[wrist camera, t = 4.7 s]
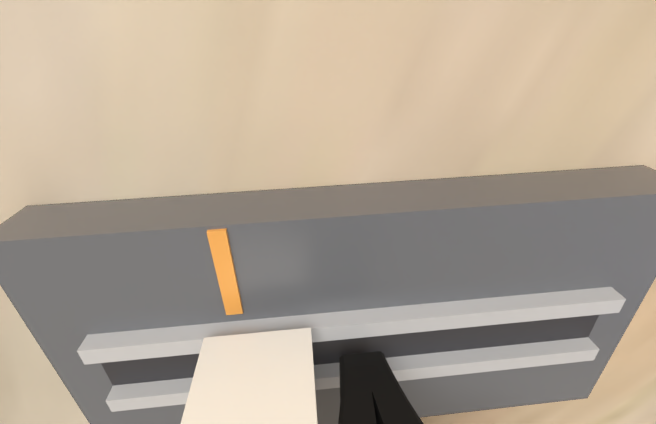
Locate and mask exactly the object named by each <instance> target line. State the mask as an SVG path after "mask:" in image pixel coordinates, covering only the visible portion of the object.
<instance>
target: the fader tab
mask: <svg viewBox="0 0 656 424" xmlns="http://www.w3.org/2000/svg"><path fill="white" fill-rule="evenodd" d="M181 424H318V417H317V403H316V389H315V376H314V362H313V348H312V335H311V328H301V329H291V330H280V331H269V332H259V333H248V334H238V335H227V336H216V337H206V338H204V339H203V343H202V346H201V350H200V354H199V357H198V361H197V365H196V368H195V372H194V376H193V379H192V383H191V387H190V391H189V394H188V398H187V402H186V405H185V409H184V413H183V416H182V420H181Z"/></svg>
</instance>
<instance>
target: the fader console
mask: <svg viewBox="0 0 656 424" xmlns="http://www.w3.org/2000/svg"><path fill="white" fill-rule="evenodd" d="M655 277H656V170H654V169H651V168H649V167H646V166H644V165H640V166H625V167H610V168H595V169H579V170H564V171H549V172H534V173H519V174H504V175H488V176H473V177H458V178H443V179H428V180H413V181H398V182H382V183H367V184H352V185H337V186H322V187H307V188H291V189H276V190H261V191H246V192H231V193H216V194H201V195H185V196H170V197H155V198H140V199H125V200H110V201H94V202H79V203H64V204H49V205H34V206H26V207H24V208H23V209H22V210H20V211H19V212H17V213H16V214H14V215H13V216H12V217H10V218H9V219H7V220H6V221H5V222H3V223H2V224H0V285H1V287H2V288H3V290H4V291H5V293H6V294H7V296H8V298H9V299H10V301H11V302H12V304H13V305H14V307H15V308H16V310H17V312H18V313H19V315H20V316H21V318H22V319H23V321H24V322H25V324H26V326H27V327H28V329H29V330H30V332H31V333H32V335H33V336H34V338H35V339H36V341H37V343H38V344H39V346H40V347H41V349H42V350H43V352H44V353H45V355H46V357H47V358H48V360H49V361H50V363H51V364H52V366H53V367H54V369H55V370H56V372H57V374H58V375H59V377H60V378H61V380H62V381H63V383H64V384H65V386H66V388H67V389H68V391H69V392H70V394H71V395H72V397H73V398H74V400H75V401H76V403H77V405H78V406H79V408H80V409H81V411H82V412H83V414H84V415H85V417H86V419H87V420H88V422H89V423H90V424H181V420H182V416H183V413H184V409H185V405H186V402H187V398H188V394H189V391H190V387H191V383H192V379H193V376H194V372H195V368H196V365H197V361H198V357H199V354H200V350H201V346H202V343H203V339H204V338H206V337H216V336H227V335H238V334H248V333H259V332H269V331H280V330H291V329H301V328H311V335H312V348H313V362H314V376H315V389H316V403H317V417H318V424H338V420H339V410H340V371H339V358H340V357H341V356H342V355H346V354H356V353H366V352H376V351H381V352H382V353H383V354H384V356H385V358H386V360H387V362H388V364H389V366H390V368H391V370H392V372H393V374H394V376H395V378H396V379H397V381H398V383H399V385H400V387H401V388H402V390H403V392H404V393H405V395H406V397H407V399H408V400H409V402H410V403H411V405H412V407H413V408H414V410H415V411H416V413H417V415H418V416H419V417H428V416H436V415H445V414H454V413H462V412H471V411H480V410H489V409H497V408H506V407H515V406H523V405H532V404H541V403H549V402H558V401H567V400H576V399H584V398H588V396H589V394H590V393H591V391H592V389H593V387H594V386H595V384H596V382H597V380H598V379H599V377H600V375H601V373H602V371H603V370H604V368H605V366H606V364H607V363H608V361H609V359H610V357H611V355H612V354H613V352H614V350H615V348H616V347H617V345H618V343H619V341H620V340H621V338H622V336H623V334H624V332H625V331H626V329H627V327H628V325H629V324H630V322H631V320H632V318H633V316H634V315H635V313H636V311H637V309H638V308H639V306H640V304H641V302H642V301H643V299H644V297H645V295H646V293H647V292H648V290H649V288H650V286H651V285H652V283H653V281H654V279H655Z"/></svg>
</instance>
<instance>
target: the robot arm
mask: <svg viewBox="0 0 656 424" xmlns="http://www.w3.org/2000/svg"><path fill="white" fill-rule="evenodd" d="M339 371H340V410H339V420H338V424H423V422H422V421H421V419H420V418H419V416H418V415H417V413H416V411H415V410H414V408H413V407H412V405H411V403H410V402H409V400H408V399H407V397H406V395H405V393H404V392H403V390H402V388H401V387H400V385H399V383H398V381H397V379H396V378H395V376H394V374H393V372H392V370H391V368H390V366H389V364H388V362H387V360H386V358H385V356H384V354H383V353H382V352H381V351H376V352H366V353H356V354H346V355H342V356H341V357H340V358H339Z"/></svg>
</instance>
